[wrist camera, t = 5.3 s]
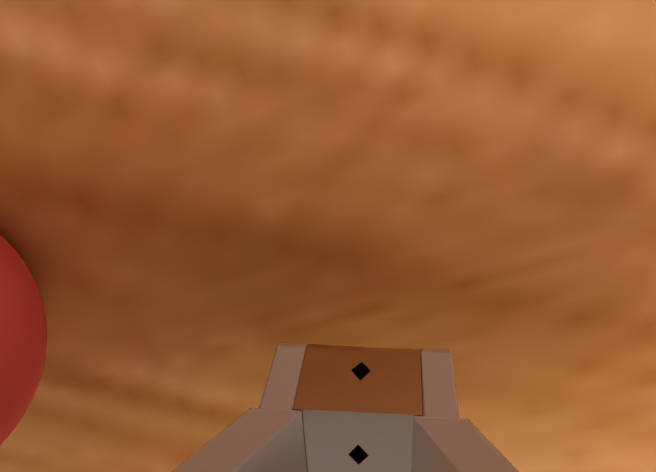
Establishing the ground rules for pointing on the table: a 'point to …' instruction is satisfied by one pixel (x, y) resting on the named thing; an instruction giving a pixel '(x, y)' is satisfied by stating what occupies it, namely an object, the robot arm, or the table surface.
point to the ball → (18, 338)
